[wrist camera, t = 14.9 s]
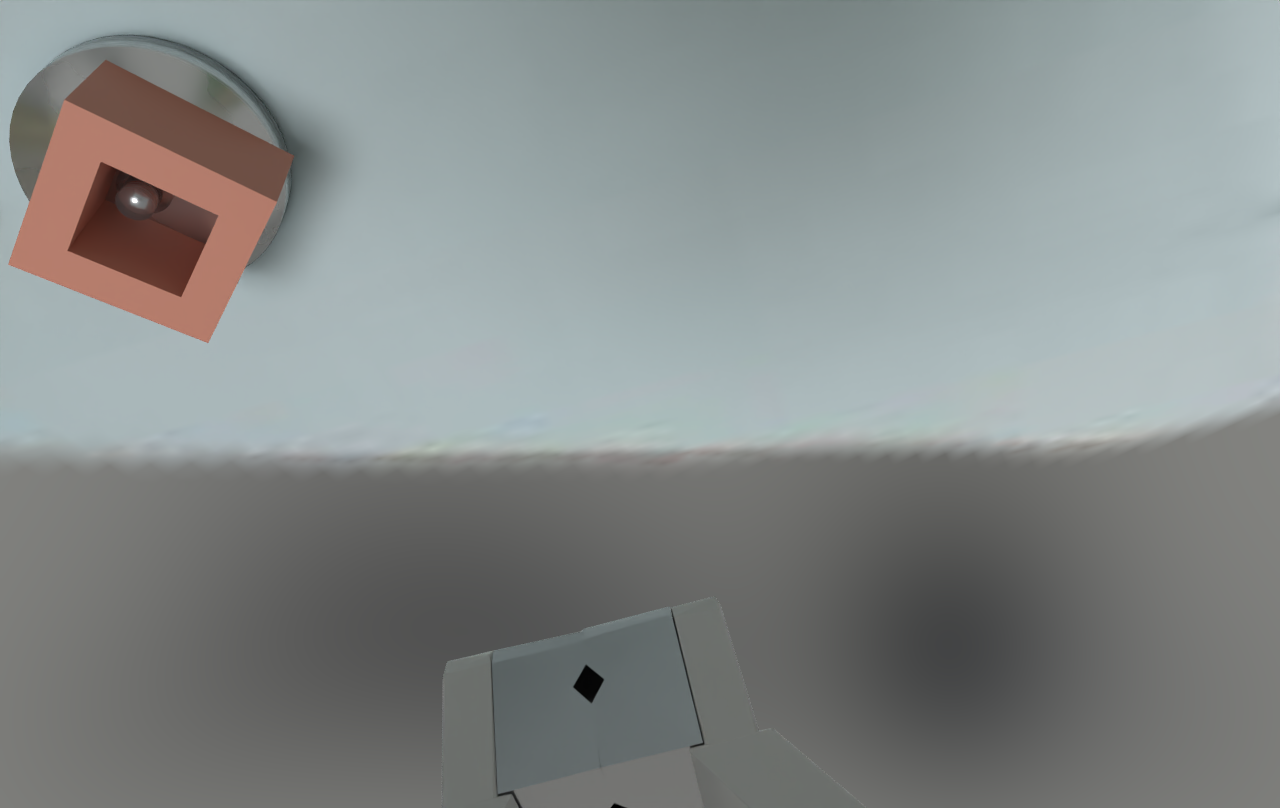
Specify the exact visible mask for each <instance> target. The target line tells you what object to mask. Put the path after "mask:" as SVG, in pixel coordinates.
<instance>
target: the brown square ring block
mask: <svg viewBox="0 0 1280 808" xmlns="http://www.w3.org/2000/svg"><path fill="white" fill-rule="evenodd" d="M293 158H294V155H292V154H290V153H288V152H286V151H284V150H282V149H280V148H278V147H276V146H274V145H272V144H270V143H268V142H266V141H264V140H262V139H260V138H258V137H256V136H254V135H252V134H250V133H249V132H247V131H245V130H243V129H241V128H239V127H237V126H235V125H233V124H231V123H229V122H227V121H225V120H223V119H221V118H219V117H217V116H215V115H213V114H211V113H209V112H207V111H205V110H203V109H201V108H199V107H198V106H196V105H194V104H192V103H190V102H188V101H186V100H184V99H182V98H180V97H178V96H176V95H174V94H172V93H170V92H168V91H166V90H164V89H162V88H160V87H158V86H156V85H154V84H152V83H150V82H148V81H147V80H145V79H143V78H141V77H139V76H137V75H135V74H133V73H131V72H129V71H127V70H125V69H123V68H121V67H119V66H117V65H115V64H113V63H111V62H109V61H107V60H105V61H104V62H103V63H102V64H101V65H100V66H99V67H98V68H97V69H96V70H94V71H93V72H92V73H91V74H90V75H89V76H88V77H87V78H86V79H85V80H84V81H83V82H82V83H81V84H80V85H79V86H78V87H77V88H76V89H75V90H74V91H73V92H72V93H71V94H70V95H69V96H68V97H67V98H66V99H64V102H63V105H62V108H61V111H60V114H59V117H58V120H57V123H56V126H55V128H54V131H53V134H52V137H51V140H50V143H49V146H48V149H47V152H46V155H45V158H44V161H43V164H42V167H41V170H40V173H39V176H38V178H37V181H36V184H35V187H34V190H33V193H32V196H31V199H30V202H29V205H28V208H27V211H26V214H25V217H24V220H23V223H22V226H21V228H20V231H19V234H18V237H17V240H16V243H15V246H14V249H13V252H12V255H11V258H10V261H9V264H8V265H11V266H13V267H16V268H18V269H21V270H23V271H26V272H28V273H31V274H34V275H36V276H39V277H41V278H44V279H46V280H49V281H51V282H54V283H57V284H59V285H62V286H64V287H67V288H69V289H72V290H74V291H77V292H79V293H82V294H85V295H87V296H90V297H92V298H95V299H97V300H100V301H102V302H105V303H107V304H110V305H113V306H115V307H118V308H120V309H123V310H125V311H128V312H130V313H133V314H135V315H138V316H141V317H143V318H146V319H148V320H151V321H153V322H156V323H158V324H161V325H164V326H166V327H169V328H171V329H174V330H176V331H179V332H181V333H184V334H186V335H189V336H192V337H194V338H197V339H199V340H202V341H204V342H207V343H208V342H209V340H210V338H211V336H212V334H213V332H214V330H215V328H216V326H217V324H218V322H219V320H220V318H221V316H222V314H223V312H224V310H225V307H226V305H227V303H228V301H229V299H230V297H231V295H232V293H233V291H234V289H235V287H236V285H237V283H238V281H239V279H240V277H241V275H242V273H243V271H244V269H245V267H246V265H247V263H248V261H249V259H250V256H251V254H252V252H253V250H254V248H255V246H256V244H257V242H258V240H259V238H260V236H261V234H262V232H263V230H264V228H265V226H266V224H267V222H268V220H269V218H270V216H271V214H272V212H273V210H274V207H275V205H276V203H277V201H278V198H279V196H280V193H281V190H282V188H283V185H284V182H285V180H286V177H287V174H288V171H289V169H290V166H291V163H292V161H293ZM116 169H118V170H120V171H123V172H125V173H127V174H129V175H131V176H133V177H136V178H138V179H140V180H142V181H144V182H147V183H149V184H151V185H153V186H155V187H157V188H160V189H162V190H164V191H166V192H168V193H170V194H173V195H175V196H177V197H179V198H181V199H184V200H186V201H188V202H190V203H192V204H194V205H197V206H199V207H201V208H203V209H205V210H207V211H210V212H212V213H214V214H216V215H218V218H217V220H216V223H215V225H214V227H213V229H212V231H211V233H210V236H209V238H208V240H207V242H206V244H204V243H202V242H200V241H197V240H195V239H193V238H191V237H188V236H186V235H184V234H182V233H179V232H177V231H175V230H173V229H170V228H168V227H166V226H163V225H161V224H159V223H157V222H154V221H152V220H150V219H146V220H133V219H130V218H128V217H126V216H124V215H123V214H122V213H121V212H120V211H119V210H118V208H117V206H116V204H114V203H111V202H109V201H107V200H105V198H106V195H107V193H108V190H109V188H110V185H111V182H112V180H113V177H114V175H115V172H116Z"/></svg>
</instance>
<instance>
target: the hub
mask: <svg viewBox="0 0 1280 808" xmlns="http://www.w3.org/2000/svg"><path fill="white" fill-rule="evenodd" d="M105 60H107V61H109V62H111V63H113V64H115V65H117V66H119V67H121V68H123V69H125V70H127V71H129V72H131V73H133V74H135V75H137V76H139V77H141V78H143V79H145V80H147V81H148V82H150V83H152V84H154V85H156V86H158V87H160V88H162V89H164V90H166V91H168V92H170V93H172V94H174V95H176V96H178V97H180V98H182V99H184V100H186V101H188V102H190V103H192V104H194V105H196V106H198V107H199V108H201V109H203V110H205V111H207V112H209V113H211V114H213V115H215V116H217V117H219V118H221V119H223V120H225V121H227V122H229V123H231V124H233V125H235V126H237V127H239V128H241V129H243V130H245V131H247V132H249V133H250V134H252V135H254V136H256V137H258V138H260V139H262V140H264V141H266V142H268V143H270V144H272V145H274V146H276V147H278V148H280V149H282V150H284V151H286V152H288V151H287V147H286V145H285V142H284V139H283V137H282V134H281V132H280V130H279V128H278V126H277V124H276V122H275V120H274V118H273V117H272V115H271V114H270V112H269V111H268V109H267V108H266V107H265V105H264V104H263V102H262V101H261V100H260V99H259V98H258V97H257V95H256V94H255V93H254V92H253V91H252V90H251V89H250V88H249V87H248V86H247V85H246V84H245V83H244V82H243V81H242V80H241V79H240V78H238V77H237V76H236V75H234V74H233V73H232V72H231V71H229V70H228V69H227V68H225V67H224V66H222V65H221V64H219V63H217V62H216V61H214V60H213V59H211V58H209V57H208V56H206V55H204V54H201V53H199V52H197V51H195V50H193V49H191V48H188V47H186V46H183V45H180V44H177V43H174V42H171V41H167V40H162V39H158V38H154V37H146V36H136V35H117V36H109V37H103V38H97V39H94V40H90V41H87V42H84V43H81V44H79V45H77V46H75V47H73V48H71V49H69V50H67V51H65V52H64V53H63V54H61V55H60V56H59V57H57V58H56V59H54V60H53V61H52V62H51V63H50V64H48V65H47V66H46V67H45V68H44V69H43V70H41V71H40V72H39V73H38V74H37V75H36V76H35V77H34V78H33V79H32V80H31V81H30V82H29V83H28V84H27V86H26V87H25V89H24V90H23V92H22V93H21V95H20V96H19V99H18V101H17V103H16V106H15V108H14V111H13V115H12V119H11V124H10V139H9V143H10V151H11V158H12V162H13V166H14V169H15V173H16V175H17V178H18V180H19V182H20V185H21V187H22V189H23V191H24V193H25V195H26V196H27V198H28V200H29V201H30V199H31V196H32V193H33V190H34V187H35V184H36V181H37V178H38V176H39V173H40V170H41V167H42V164H43V161H44V158H45V155H46V152H47V149H48V146H49V143H50V140H51V137H52V134H53V131H54V128H55V126H56V123H57V120H58V117H59V114H60V111H61V108H62V105H63V102H64V99H66V98H67V97H68V96H69V95H70V94H71V93H72V92H73V91H74V90H75V89H76V88H77V87H78V86H79V85H80V84H81V83H82V82H83V81H84V80H85V79H86V78H87V77H88V76H89V75H90V74H91V73H92V72H93V71H94V70H96V69H97V68H98V67H99V66H100V65H101V64H102V63H103V62H104V61H105ZM290 189H291V168H290V169H289V171H288V174H287V177H286V180H285V182H284V185H283V188H282V190H281V193H280V196H279V198H278V201H277V203H276V205H275V207H274V210H273V212H272V214H271V216H270V218H269V220H268V222H267V224H266V226H265V228H264V230H263V232H262V234H261V236H260V238H259V240H258V242H257V244H256V246H255V248H254V250H253V252H252V254H251V256H250V259H249V261H248V263H247V265H246V266H248V265H250V264H251V263H252V262H253V261H255V260H256V259H257V258H258V257H259V256H260V255H261V254H262V253H263V252H264V251H265V250H266V249H267V247H268V246H269V245H270V243H271V242H272V240H273V239H274V237H275V235H276V234H277V231H278V229H279V226H280V224H281V221H282V218H283V215H284V213H285V210H286V207H287V204H288V199H289V195H290ZM105 200H107V201H109V202H111V203H114V204H116V206H117V208H118V210H119V211H120V212H121V213H122V214H123V215H124V216H126V217H128V218H130V219H133V220H146V219H150V220H152V221H154V222H157V223H159V224H161V225H163V226H166V227H168V228H170V229H173V230H175V231H177V232H179V233H182V234H184V235H186V236H188V237H191V238H193V239H195V240H197V241H200V242H202V243H204V244H206V242H207V240H208V238H209V236H210V233H211V231H212V229H213V227H214V225H215V223H216V220H217V218H218V215H216V214H214V213H212V212H210V211H207V210H205V209H203V208H201V207H199V206H197V205H194V204H192V203H190V202H188V201H186V200H184V199H181V198H179V197H177V196H175V195H173V194H170V193H168V192H166V191H164V190H162V189H160V188H157V187H155V186H153V185H151V184H149V183H147V182H144V181H142V180H140V179H138V178H136V177H133V176H131V175H129V174H127V173H125V172H123V171H120V170H118V169H116V172H115V175H114V177H113V180H112V182H111V185H110V188H109V190H108V193H107V195H106V198H105Z"/></svg>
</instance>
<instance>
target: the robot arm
mask: <svg viewBox="0 0 1280 808" xmlns="http://www.w3.org/2000/svg"><path fill="white" fill-rule="evenodd" d="M671 613H672V614H671ZM672 617H673V618H672ZM442 728H443V729H442V808H867V807H865V806H864V805H863V804H862V803H861V802H859V801H858V800H857V799H856V798H855V797H854V796H852V795H851V794H850V793H849V792H848V791H846V790H845V789H844V788H843V787H842V786H841V785H839V784H838V783H837V782H836V781H835V780H834V779H832V778H831V777H830V776H829V775H827V774H826V773H825V772H824V771H823V770H822V769H820V768H819V767H818V766H817V765H816V764H815V763H813V762H812V761H811V760H810V759H809V758H808V757H806V756H805V755H804V754H803V753H802V752H801V751H799V750H798V749H797V748H796V747H795V746H794V745H792V744H791V743H790V742H789V741H788V740H786V739H785V738H784V737H783V736H781V734H779V733H778V732H777V731H776V730H775V729H774V728H771V729H766V730H761V731H759V729H758V726H757V723H756V719H755V716H754V713H753V709H752V707H751V703H750V700H749V696H748V693H747V690H746V687H745V683H744V680H743V677H742V674H741V670H740V667H739V664H738V661H737V658H736V654H735V651H734V647H733V645H732V641H731V638H730V634H729V632H728V628H727V625H726V621H725V618H724V615H723V612H722V608H721V605H720V603H719V602H718V600H717V599H716V597H710V598H706V599H703V600H699V601H695V602H691V603H687V604H683V605H680V606H676V607H672V608H671V610H670V607H666V608H662V609H658V610H655V611H651V612H647V613H643V614H639V615H636V616H631V617H628V618H624V619H620V620H616V621H612V622H608V623H605V624H601V625H597V626H593V627H589V628H585V629H583V631H581V632H577V633H572V634H567V635H563V636H558V637H554V638H549V639H545V640H540V641H536V642H531V643H527V644H523V645H518V646H513V647H509V648H504V649H500V650H496V651H490V652H486V653H482V654H477V655H473V656H469V657H465V658H461V659H457V660H452V661H448V662H447V665H446V668H445V672H444V676H443V726H442Z"/></svg>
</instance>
